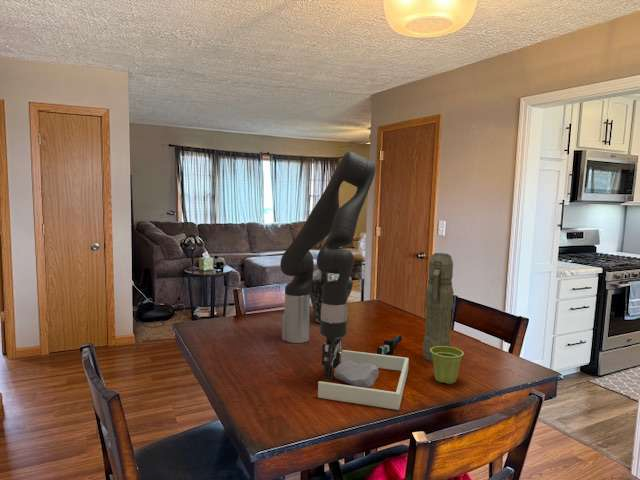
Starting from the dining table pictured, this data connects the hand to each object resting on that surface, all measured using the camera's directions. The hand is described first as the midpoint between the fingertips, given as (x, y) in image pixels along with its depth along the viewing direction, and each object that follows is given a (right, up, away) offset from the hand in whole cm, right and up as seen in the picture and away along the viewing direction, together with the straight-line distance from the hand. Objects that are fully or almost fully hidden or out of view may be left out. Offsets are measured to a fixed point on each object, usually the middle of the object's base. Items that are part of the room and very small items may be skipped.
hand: (331, 372), depth 128 cm
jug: (0, +3, +59) cm, 59 cm away
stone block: (+7, -2, 0) cm, 7 cm away
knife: (+21, 0, +25) cm, 33 cm away
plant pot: (+33, -3, +1) cm, 33 cm away
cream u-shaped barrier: (+9, -2, -2) cm, 10 cm away
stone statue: (+35, -1, +19) cm, 40 cm away
